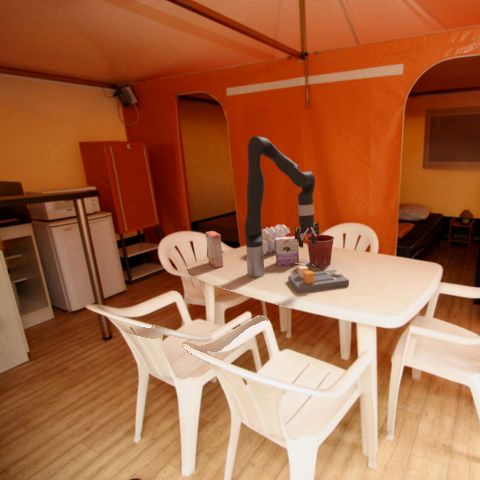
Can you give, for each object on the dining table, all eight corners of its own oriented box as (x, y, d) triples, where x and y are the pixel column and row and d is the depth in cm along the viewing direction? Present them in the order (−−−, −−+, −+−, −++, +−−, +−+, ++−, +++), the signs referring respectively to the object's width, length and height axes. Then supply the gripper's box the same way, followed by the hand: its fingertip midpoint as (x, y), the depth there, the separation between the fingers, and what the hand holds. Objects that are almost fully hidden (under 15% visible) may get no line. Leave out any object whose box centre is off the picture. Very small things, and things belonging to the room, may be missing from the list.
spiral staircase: (255, 260, 226) (279, 249, 241) (270, 253, 212) (295, 243, 227) (244, 235, 227) (269, 227, 242) (259, 227, 213) (285, 219, 228)
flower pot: (334, 259, 202) (334, 234, 198) (334, 268, 186) (334, 241, 182) (307, 259, 206) (306, 234, 202) (305, 268, 191) (304, 241, 187)
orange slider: (306, 283, 160) (306, 274, 159) (303, 280, 164) (303, 271, 163) (314, 282, 161) (314, 273, 159) (311, 279, 164) (311, 270, 163)
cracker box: (223, 266, 205) (220, 234, 200) (214, 268, 203) (211, 235, 198) (217, 260, 218) (214, 230, 213) (208, 262, 216) (205, 231, 210)
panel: (298, 292, 158) (297, 285, 157) (288, 281, 174) (288, 274, 173) (348, 285, 162) (348, 278, 161) (334, 274, 177) (334, 267, 176)
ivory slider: (301, 278, 168) (300, 268, 166) (298, 275, 172) (298, 266, 170) (308, 277, 168) (308, 267, 167) (305, 274, 172) (305, 265, 171)
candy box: (298, 261, 204) (297, 235, 200) (299, 264, 198) (298, 238, 194) (276, 262, 205) (274, 236, 201) (276, 265, 199) (274, 239, 195)
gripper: (311, 210, 166) (312, 241, 170) (289, 215, 159) (291, 247, 163) (322, 211, 160) (323, 243, 164) (300, 216, 153) (302, 250, 157)
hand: (307, 245), depth 163 cm, fingers open, 8 cm apart
